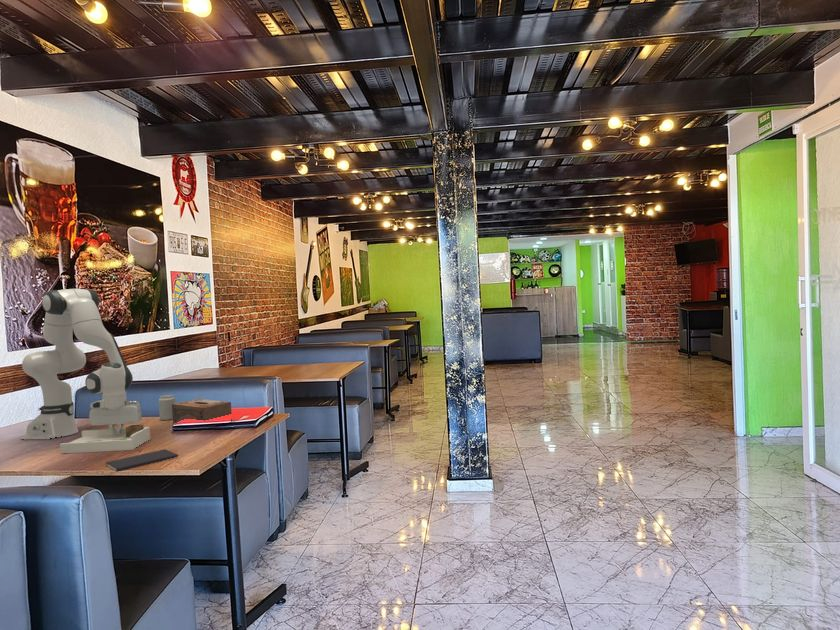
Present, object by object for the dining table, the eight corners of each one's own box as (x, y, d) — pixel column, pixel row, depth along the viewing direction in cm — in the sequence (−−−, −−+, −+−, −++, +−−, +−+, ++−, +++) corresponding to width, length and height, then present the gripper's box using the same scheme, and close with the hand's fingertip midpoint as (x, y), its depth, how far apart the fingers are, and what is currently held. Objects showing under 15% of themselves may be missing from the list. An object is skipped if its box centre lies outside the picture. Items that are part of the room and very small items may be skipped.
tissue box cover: (232, 422, 269) (230, 402, 269) (205, 429, 257) (204, 407, 257) (199, 418, 284) (198, 398, 284) (173, 424, 272) (171, 403, 272)
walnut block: (126, 437, 235) (125, 427, 235) (131, 434, 240) (131, 425, 240) (138, 436, 235) (137, 427, 235) (143, 433, 240) (143, 424, 240)
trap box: (61, 453, 225) (60, 440, 225) (83, 443, 241) (82, 430, 241) (132, 449, 226) (131, 436, 226) (150, 439, 242) (149, 426, 242)
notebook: (116, 473, 197) (178, 458, 212) (116, 468, 197) (178, 454, 212) (105, 466, 206) (165, 453, 221) (104, 462, 206) (165, 449, 221)
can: (170, 421, 280) (168, 396, 279) (156, 421, 281) (155, 397, 281) (179, 417, 287) (177, 394, 287) (166, 417, 289) (164, 394, 288)
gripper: (143, 399, 241) (145, 431, 241) (94, 401, 240) (96, 433, 241) (136, 402, 235) (138, 435, 235) (86, 404, 234) (88, 437, 234)
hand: (116, 434), depth 238 cm, fingers closed
